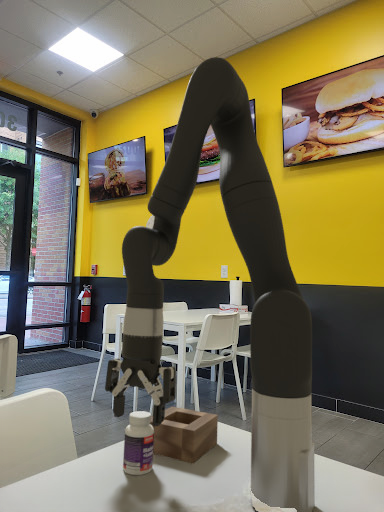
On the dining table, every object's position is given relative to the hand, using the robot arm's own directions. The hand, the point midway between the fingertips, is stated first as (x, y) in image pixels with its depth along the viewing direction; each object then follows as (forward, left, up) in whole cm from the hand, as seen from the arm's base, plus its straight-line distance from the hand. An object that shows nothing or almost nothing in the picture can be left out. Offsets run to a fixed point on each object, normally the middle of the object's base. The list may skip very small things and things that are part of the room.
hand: (137, 420), depth 69 cm
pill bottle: (0, 0, -9) cm, 9 cm away
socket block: (-2, -13, -9) cm, 16 cm away
